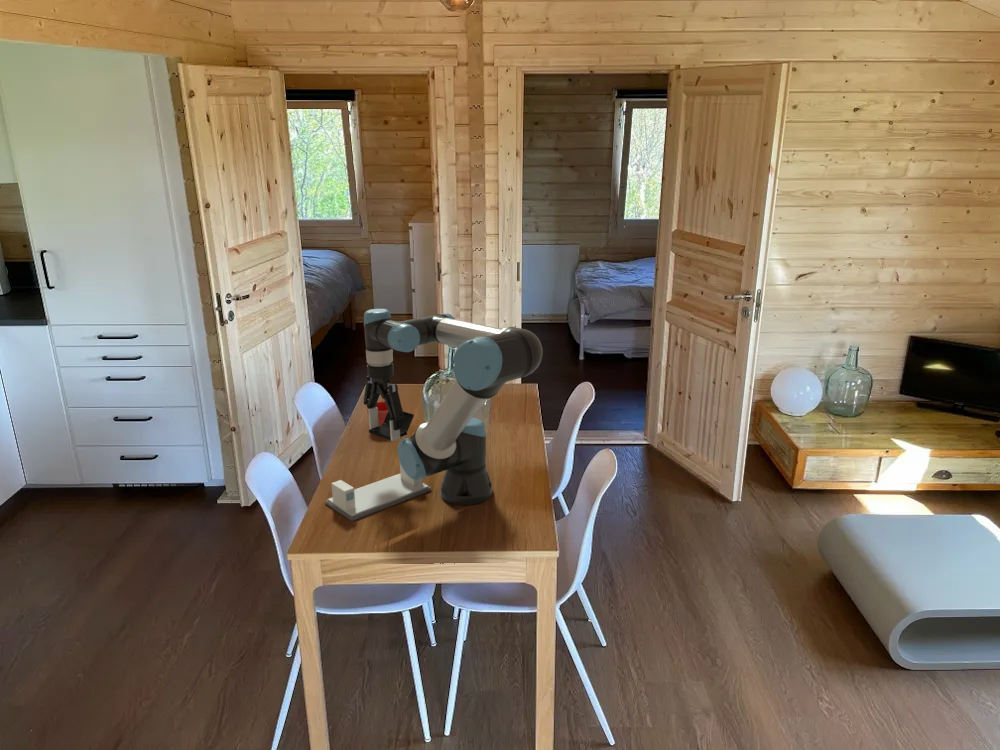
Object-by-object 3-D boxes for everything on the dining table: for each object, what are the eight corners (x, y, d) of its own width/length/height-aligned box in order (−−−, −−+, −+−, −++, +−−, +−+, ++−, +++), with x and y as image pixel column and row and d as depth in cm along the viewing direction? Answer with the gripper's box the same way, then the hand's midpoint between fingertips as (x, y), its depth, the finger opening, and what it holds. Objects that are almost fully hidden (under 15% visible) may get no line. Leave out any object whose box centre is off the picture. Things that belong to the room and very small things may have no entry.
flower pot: (365, 428, 261) (363, 403, 259) (394, 424, 265) (393, 399, 263) (372, 439, 252) (370, 412, 249) (402, 434, 256) (401, 408, 253)
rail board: (431, 490, 213) (430, 467, 211) (351, 521, 196) (349, 496, 194) (403, 475, 223) (402, 453, 221) (325, 503, 206) (323, 479, 203)
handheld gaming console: (372, 439, 218) (367, 430, 216) (395, 415, 223) (390, 407, 221) (395, 447, 210) (390, 438, 208) (418, 422, 216) (413, 414, 214)
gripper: (413, 369, 201) (417, 442, 207) (370, 352, 218) (375, 420, 225) (390, 374, 196) (395, 448, 203) (348, 357, 214) (353, 426, 220)
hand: (384, 434), depth 214 cm, fingers closed on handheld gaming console, 11 cm apart
